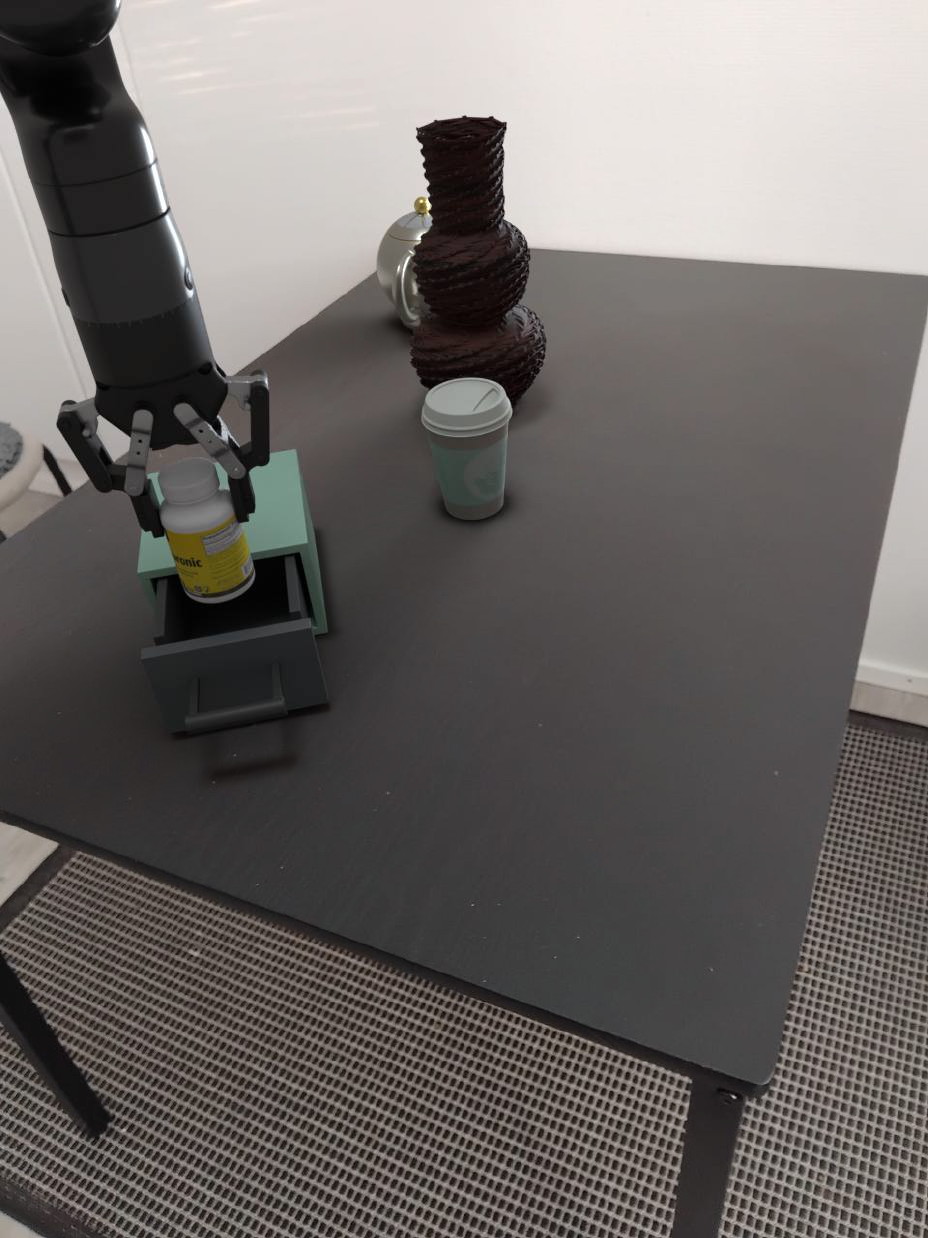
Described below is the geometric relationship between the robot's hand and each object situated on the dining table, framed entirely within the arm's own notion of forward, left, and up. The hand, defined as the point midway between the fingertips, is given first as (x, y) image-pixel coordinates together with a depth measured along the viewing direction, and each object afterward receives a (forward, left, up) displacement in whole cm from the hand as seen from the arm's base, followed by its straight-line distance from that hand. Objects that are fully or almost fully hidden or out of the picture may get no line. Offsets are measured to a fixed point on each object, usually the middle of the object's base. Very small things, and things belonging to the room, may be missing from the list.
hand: (201, 523), depth 70 cm
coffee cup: (+23, +21, -16) cm, 35 cm away
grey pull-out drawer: (0, 0, -15) cm, 15 cm away
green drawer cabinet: (0, +13, -16) cm, 20 cm away
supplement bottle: (0, 0, -6) cm, 6 cm away
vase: (+28, +41, -16) cm, 52 cm away
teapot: (+26, +66, -16) cm, 73 cm away
